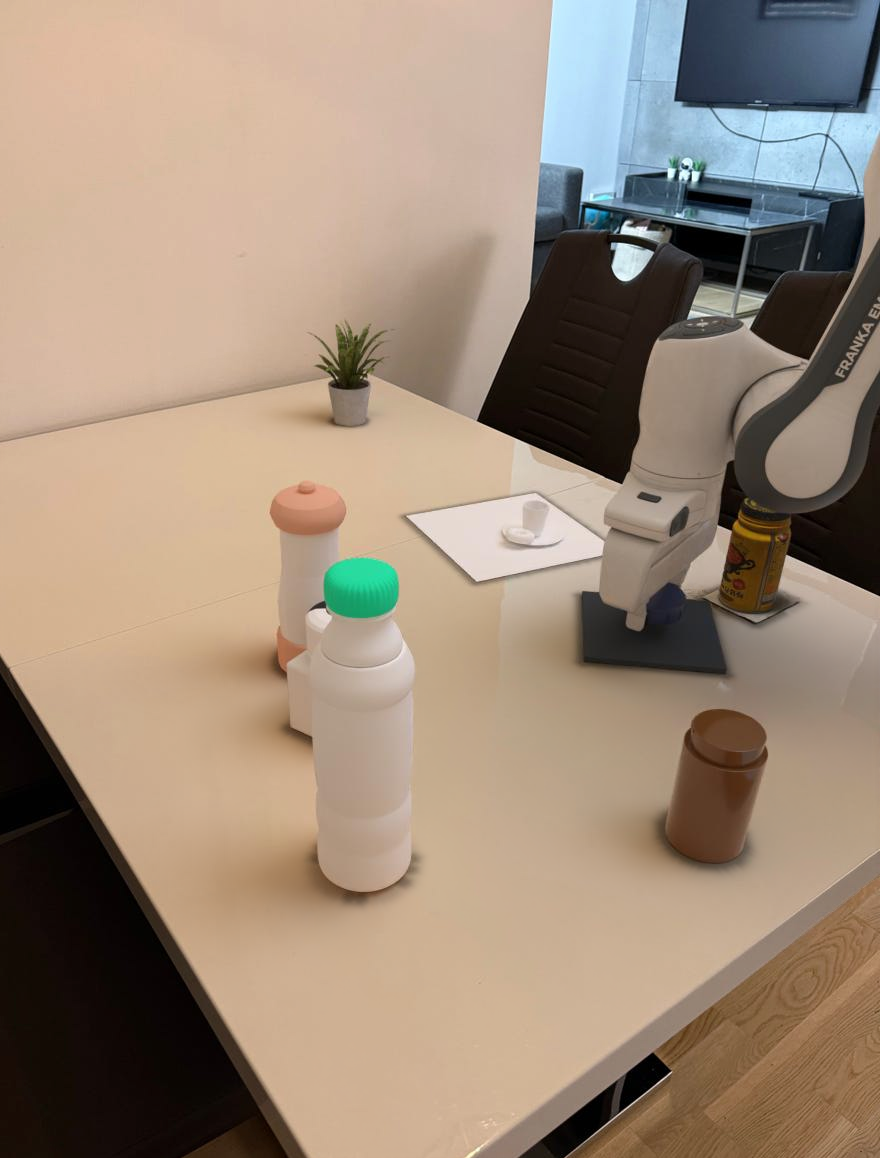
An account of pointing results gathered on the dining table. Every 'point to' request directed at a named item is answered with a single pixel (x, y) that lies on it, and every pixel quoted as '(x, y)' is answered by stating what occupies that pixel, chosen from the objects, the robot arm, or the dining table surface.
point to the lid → (666, 605)
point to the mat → (652, 638)
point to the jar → (716, 785)
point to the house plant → (350, 376)
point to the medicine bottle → (305, 671)
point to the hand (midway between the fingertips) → (652, 612)
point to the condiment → (755, 564)
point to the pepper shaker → (304, 557)
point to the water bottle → (362, 729)
